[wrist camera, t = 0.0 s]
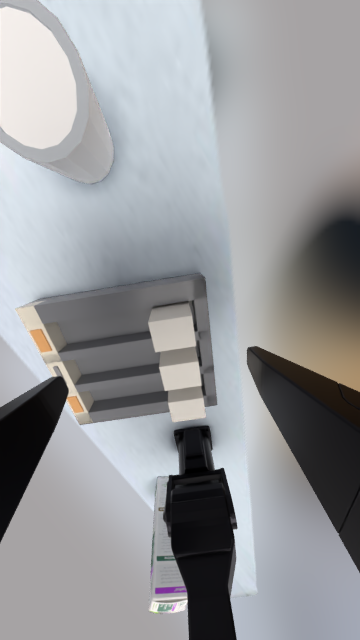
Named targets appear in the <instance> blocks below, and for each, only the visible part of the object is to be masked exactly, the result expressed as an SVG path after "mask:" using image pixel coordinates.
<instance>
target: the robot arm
mask: <svg viewBox="0 0 360 640" xmlns="http://www.w3.org/2000/svg"><path fill="white" fill-rule="evenodd" d="M247 365H248V368H249V370H250V372H251V375H252V377H253V379H254V382H255V384H256V387H257V389H258V391H259V393H260V395H261V398H262V399H263V401H264V403H265V405H266V406H267V408H268V410H269V412H270V413H271V416H272V417H273V419H274V421H275V422H276V424H277V426H278V428H279V430H280V431H281V433H282V435H283V437H284V439H285V440H286V442H287V444H288V446H289V447H290V449H291V451H292V453H293V454H294V456H295V458H296V460H297V462H298V463H299V465H300V467H301V469H302V470H303V472H304V474H305V476H306V478H307V479H308V481H309V483H310V485H311V486H312V488H313V490H314V492H315V494H316V495H317V497H318V499H319V501H320V502H321V504H322V506H323V508H324V510H325V511H326V513H327V515H328V517H329V519H330V520H331V522H332V524H333V526H334V527H335V529H336V531H337V532H338V533H339V536H340V538H341V540H342V542H343V543H344V546H345V547H346V549H347V551H348V553H349V554H350V556H351V558H352V560H353V562H354V563H355V565H356V567H357V569H358V570H359V572H360V392H358V391H356V390H354V389H351V388H349V387H347V386H345V385H342V384H340V383H339V384H338V383H337V382H335V381H333V380H331V379H328V378H326V377H324V376H322V375H320V374H318V373H316V372H313V371H311V370H309V369H306V368H304V367H302V366H300V365H298V364H295V363H293V362H291V361H288V360H286V359H284V358H282V357H280V356H277V355H275V354H273V353H271V352H268V351H266V350H264V349H262V348H260V347H257V346H254V347H248V349H247ZM68 394H69V389H68V386H67V385H66V383H65V381H64V379H63V377H61V376H56V377H51V378H49V379H47V380H46V381H44V382H42V383H41V384H39V385H38V386H36V387H34V388H32V389H31V390H29V391H27V392H26V393H24V394H22V395H20V396H19V397H17V398H15V399H14V400H12V401H11V402H9V403H7V404H5V405H4V406H2V407H0V542H1V540H2V538H3V536H4V534H5V532H6V530H7V528H8V526H9V524H10V521H11V519H12V517H13V515H14V513H15V511H16V509H17V507H18V505H19V503H20V500H21V499H22V496H23V494H24V492H25V490H26V488H27V486H28V484H29V482H30V479H31V478H32V475H33V474H34V471H35V469H36V467H37V465H38V463H39V461H40V459H41V457H42V455H43V453H44V451H45V449H46V446H47V444H48V442H49V440H50V438H51V436H52V433H53V432H54V430H55V427H56V425H57V423H58V420H59V418H60V415H61V412H62V410H63V407H64V404H65V402H66V399H67V396H68ZM174 437H175V441H176V445H177V449H178V453H179V475H169V481H168V482H167V493H166V501H165V506H164V512H163V520H164V522H165V523H166V527H167V532H168V537H169V538H170V537H171V549H172V552H173V555H174V557H175V560H176V563H177V566H178V568H179V571H180V574H181V577H182V579H183V582H184V585H185V587H186V590H187V600H188V625H189V640H237V639H236V633H235V626H234V620H233V614H232V609H231V602H230V595H231V589H232V583H233V576H234V570H235V564H236V550H235V539H234V533H233V529H237V522H236V517H235V512H234V507H233V502H232V498H231V494H230V490H229V486H228V482H227V479H226V475H225V471H224V468H220V469H217V470H215V468H214V463H213V458H212V452H211V450H212V449H213V448H212V441H211V433H210V427H209V426H204V427H197V428H190V429H183V430H176V431H174Z"/></svg>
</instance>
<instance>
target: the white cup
mask: <svg viewBox="0 0 360 640" xmlns="http://www.w3.org/2000/svg"><path fill="white" fill-rule="evenodd" d="M0 142H1V143H2V144H4V145H5V146H7V147H8V148H10V149H11V150H13V151H14V152H16V153H17V154H19V155H20V156H22V157H23V158H25V159H27V160H30V161H32V162H34V163H37V164H39V165H41V166H43V167H46V168H48V169H50V170H52V171H55V172H57V173H59V174H62V175H64V176H66V177H68V178H71V179H73V180H75V181H78V182H82V183H86V184H93V183H96V182H100V181H101V180H102V179H103V178H105V177H106V176H107V175H108V174H109V172H110V169H111V166H112V164H113V160H114V146H113V142H112V139H111V135H110V132H109V129H108V126H107V124H106V121H105V119H104V116H103V114H102V111H101V109H100V106H99V103H98V101H97V98H96V96H95V93H94V91H93V88H92V86H91V83H90V81H89V78H88V75H87V73H86V70H85V68H84V65H83V63H82V60H81V58H80V55H79V53H78V50H77V49H76V47H75V45H74V44H73V42H72V41H71V39H70V37H69V36H68V34H67V32H66V31H65V29H64V27H63V26H62V24H61V23H60V21H59V19H58V18H57V17H56V16H55V15H54V14H53V13H51V12H50V11H49V10H48V9H47V8H46V7H45V6H43V5H42V4H41V3H40V2H39V1H38V0H0Z"/></svg>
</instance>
